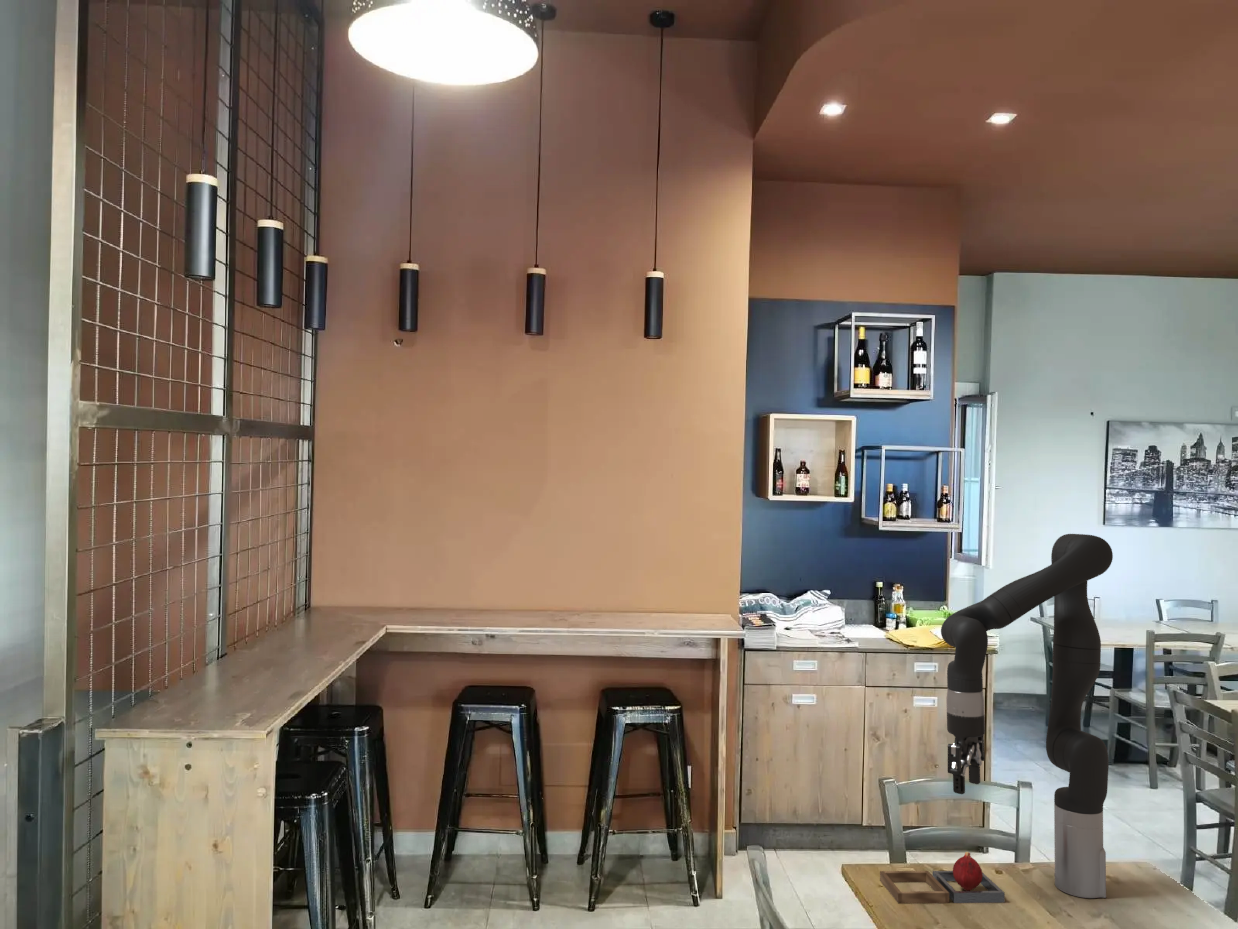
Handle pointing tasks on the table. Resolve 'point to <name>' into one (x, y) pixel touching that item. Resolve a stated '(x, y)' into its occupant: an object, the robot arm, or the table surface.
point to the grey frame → (988, 896)
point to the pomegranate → (967, 872)
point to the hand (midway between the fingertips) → (967, 788)
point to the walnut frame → (914, 896)
